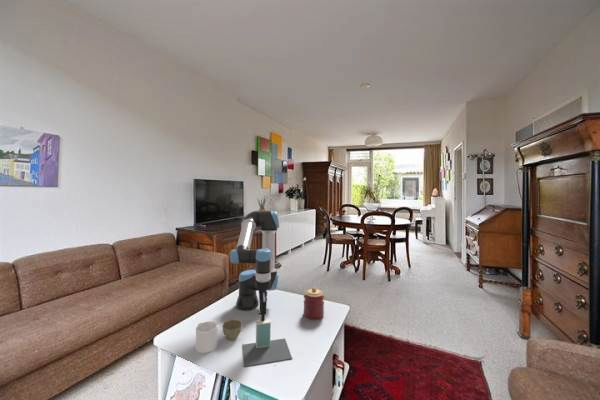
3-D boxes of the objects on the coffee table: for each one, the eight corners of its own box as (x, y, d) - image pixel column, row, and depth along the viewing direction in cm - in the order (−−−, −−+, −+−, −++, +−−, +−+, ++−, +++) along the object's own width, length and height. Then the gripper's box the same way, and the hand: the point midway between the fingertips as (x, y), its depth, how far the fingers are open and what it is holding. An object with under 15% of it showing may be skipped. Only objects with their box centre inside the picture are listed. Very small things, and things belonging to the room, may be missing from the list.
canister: (301, 318, 150) (302, 290, 150) (305, 309, 163) (305, 282, 162) (322, 321, 148) (323, 292, 147) (324, 311, 161) (325, 284, 160)
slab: (255, 344, 124) (256, 321, 123) (269, 342, 125) (269, 319, 125) (256, 348, 121) (256, 324, 120) (270, 345, 123) (270, 322, 122)
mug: (221, 346, 122) (221, 326, 122) (202, 356, 114) (202, 335, 114) (207, 336, 130) (207, 317, 130) (189, 345, 122) (189, 325, 122)
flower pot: (219, 336, 130) (219, 323, 130) (236, 330, 137) (236, 317, 136) (227, 346, 123) (227, 331, 122) (245, 338, 129) (245, 325, 129)
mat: (242, 345, 123) (242, 344, 123) (285, 339, 129) (285, 338, 129) (243, 367, 108) (243, 366, 108) (292, 359, 114) (292, 358, 114)
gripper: (254, 276, 130) (254, 320, 130) (256, 285, 117) (256, 333, 118) (268, 275, 132) (268, 318, 132) (272, 283, 119) (271, 331, 120)
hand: (262, 325), depth 125 cm, fingers closed
